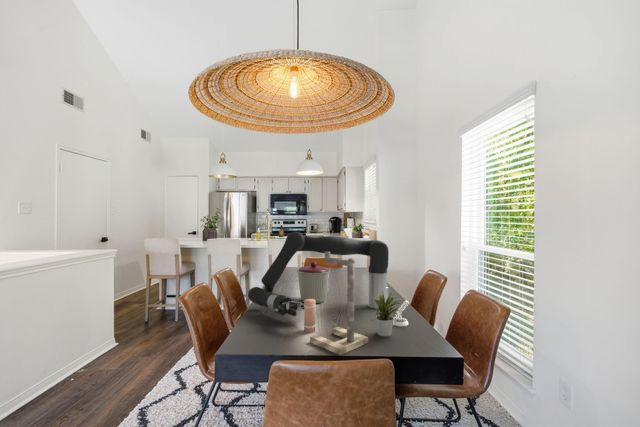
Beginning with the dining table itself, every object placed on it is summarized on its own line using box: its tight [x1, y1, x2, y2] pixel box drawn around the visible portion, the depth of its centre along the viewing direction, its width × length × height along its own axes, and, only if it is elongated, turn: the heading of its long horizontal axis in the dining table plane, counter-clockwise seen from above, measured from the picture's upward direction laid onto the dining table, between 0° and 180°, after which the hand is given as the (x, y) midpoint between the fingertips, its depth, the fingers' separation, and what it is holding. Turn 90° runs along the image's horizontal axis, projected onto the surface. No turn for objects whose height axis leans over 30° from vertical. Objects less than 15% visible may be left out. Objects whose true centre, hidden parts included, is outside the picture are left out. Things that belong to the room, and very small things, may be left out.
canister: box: [296, 261, 331, 304], centre depth 168 cm, size 18×18×21 cm
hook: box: [393, 300, 410, 327], centre depth 134 cm, size 8×12×7 cm
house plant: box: [368, 291, 401, 337], centre depth 120 cm, size 14×14×16 cm
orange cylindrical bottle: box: [303, 299, 317, 334], centre depth 124 cm, size 5×5×12 cm
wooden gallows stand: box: [309, 252, 369, 356], centre depth 113 cm, size 14×15×32 cm
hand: (303, 311), depth 127 cm, fingers open, 8 cm apart
